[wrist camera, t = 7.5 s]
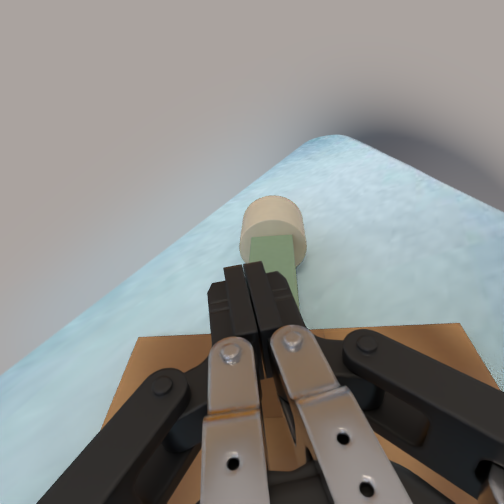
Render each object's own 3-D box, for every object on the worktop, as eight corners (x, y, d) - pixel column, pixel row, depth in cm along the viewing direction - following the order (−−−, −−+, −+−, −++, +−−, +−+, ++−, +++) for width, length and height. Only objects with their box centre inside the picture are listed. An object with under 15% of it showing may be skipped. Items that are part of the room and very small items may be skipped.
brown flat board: (11, 667, 12) (3, 665, 11) (140, 342, 23) (138, 336, 23) (680, 704, 10) (691, 702, 9) (457, 328, 21) (459, 322, 21)
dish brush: (211, 359, 15) (239, 197, 28) (228, 424, 18) (246, 249, 31) (329, 355, 15) (301, 192, 28) (328, 422, 17) (303, 245, 31)
